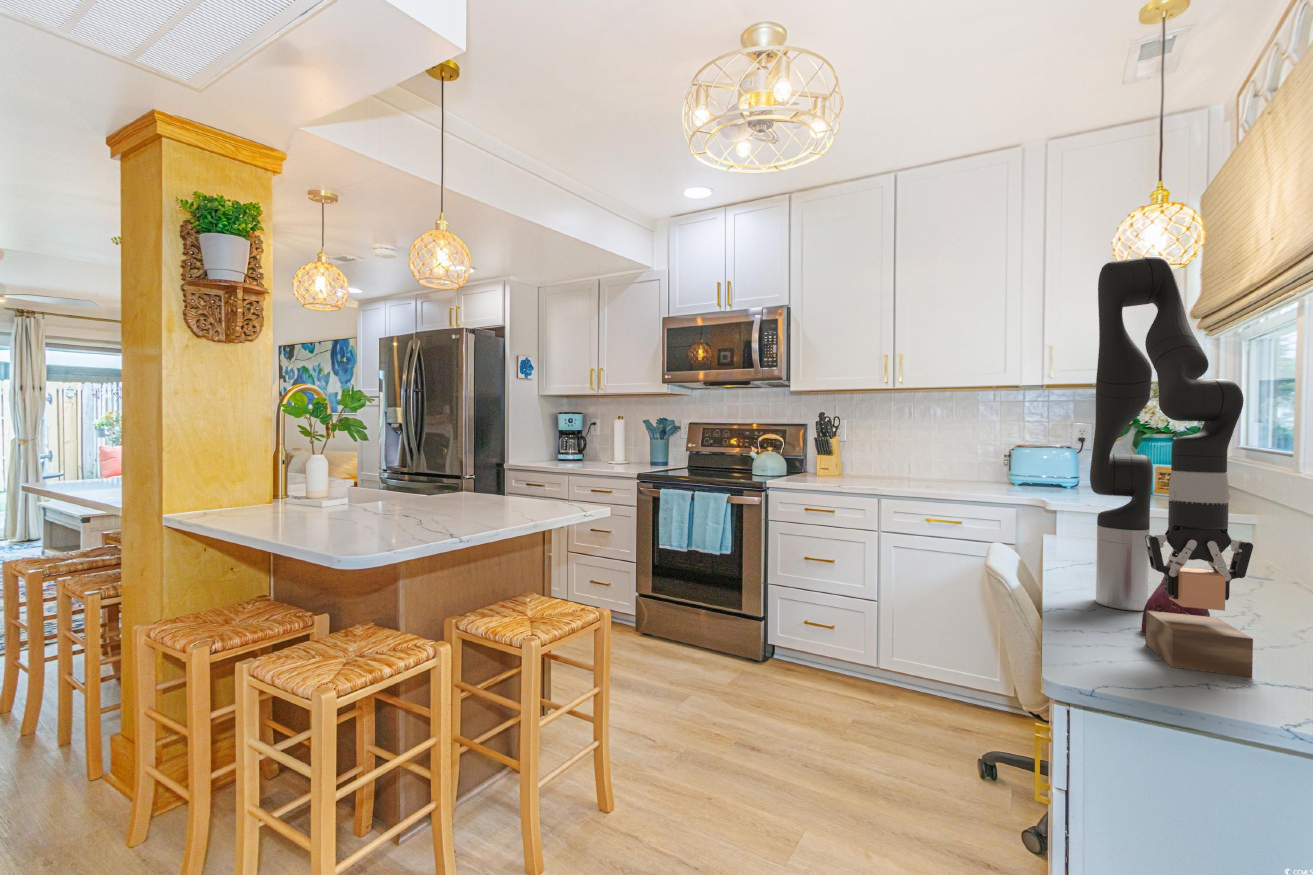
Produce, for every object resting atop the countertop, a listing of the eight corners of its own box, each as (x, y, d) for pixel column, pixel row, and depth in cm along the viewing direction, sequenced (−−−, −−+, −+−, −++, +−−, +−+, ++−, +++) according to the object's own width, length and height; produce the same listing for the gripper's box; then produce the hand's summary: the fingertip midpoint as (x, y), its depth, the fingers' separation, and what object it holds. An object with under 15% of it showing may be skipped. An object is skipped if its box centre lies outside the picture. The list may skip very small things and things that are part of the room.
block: (1169, 598, 107) (1169, 566, 107) (1209, 602, 105) (1210, 569, 104) (1182, 606, 102) (1182, 573, 101) (1224, 610, 99) (1225, 576, 99)
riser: (1145, 643, 111) (1146, 610, 111) (1216, 652, 107) (1217, 617, 107) (1172, 667, 100) (1172, 629, 99) (1252, 677, 96) (1252, 638, 96)
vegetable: (1144, 641, 122) (1134, 564, 126) (1215, 646, 115) (1201, 564, 119) (1141, 641, 114) (1130, 558, 118) (1216, 646, 108) (1202, 559, 112)
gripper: (1242, 499, 104) (1240, 599, 104) (1137, 494, 109) (1135, 590, 109) (1265, 503, 97) (1263, 611, 97) (1153, 498, 102) (1151, 600, 102)
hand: (1195, 599), depth 103 cm, fingers closed on block, 5 cm apart
